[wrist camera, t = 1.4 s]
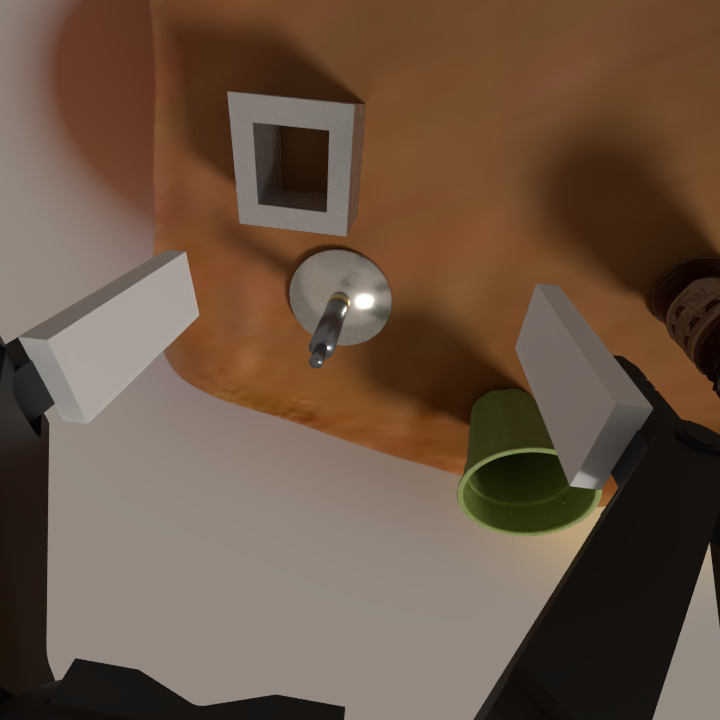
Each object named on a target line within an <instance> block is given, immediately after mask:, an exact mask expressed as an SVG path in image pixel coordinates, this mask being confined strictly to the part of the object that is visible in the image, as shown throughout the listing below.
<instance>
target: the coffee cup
mask: <svg viewBox="0 0 720 720" xmlns="http://www.w3.org/2000/svg"><path fill="white" fill-rule="evenodd" d="M651 308H652V311H653V313H654V314H655V316H656V318H657V319H658V320H659V321H661V322H663V323H665V325H666V327H667V330H668V332H669V335H670V337H671V338H672V339H673V340H674V341H675V342H676V343H677V344H678V345H679V346H680V347H681V348H682V349H683V350H684V352H685V354H686V355H687V356H688V357H689V359H690V360H691V361H692V362H693V363H694V364H695V365H696V368H697V369H698V370H699V372H700V373H701V374H703V375H706V376H707V378H708V380H710V381H712V382H713V383H714V385H713V389H712V390H713V391H715V392H716V393H717V395H718V396H719V398H720V259H719V258H713V257H699V258H692V259H690V260H688V261H685V262H683V263H681V264H679V265H678V266H676V267H674V268H672V269H671V270H670V271H668V272H667V273H666V274H665V275H664V276H663V277H662V278H661V279H660V281H659V282H658V284H657V285H656V287H655V289H654V290H653V292H652V295H651Z"/></svg>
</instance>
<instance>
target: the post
mask: <svg viewBox="0 0 720 720" xmlns="http://www.w3.org/2000/svg"><path fill="white" fill-rule="evenodd" d="M289 296H290V303H291V307H292V310H293V313H294V315H295V316H296V318H297V320H298V321H299V323H300V324H301V325H302V326H303V327H304V328H305V329H306V330H307V331H308V332H309V333H310V334H312V335H313V337H312V339H311V341H310V344H309V350H310V352H311V353H312V355H311V358H310V360H309V364H310V365H311V366H312V367H313V368H320V367H321V366H322V364H323V361H324V359H327V358H329V357H331V356H332V354H333V353H334V350H335V347H336V345H355V344H359V343H362V342H365V341H367V340H369V339H371V338H373V337H374V336H375V335H377V334H378V333H379V332H380V331H381V330H382V328H383V327H384V326H385V324H386V322H387V320H388V318H389V315H390V312H391V306H392V294H391V289H390V286H389V283H388V280H387V278H386V277H385V275H384V273H383V272H382V271H381V269H380V268H379V267H378V266H377V265H376V264H375V263H374V262H373V261H371V260H370V259H369V258H367V257H365V256H364V255H362V254H359V253H357V252H354V251H351V250H346V249H328V250H323V251H320V252H318V253H315V254H313V255H312V256H310V257H309V258H307V259H306V260H305V261H304V262H303V263H302V264H301V265H300V266H299V268H298V269H297V270H296V272H295V274H294V276H293V278H292V281H291V284H290V293H289Z"/></svg>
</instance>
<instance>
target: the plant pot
mask: <svg viewBox="0 0 720 720" xmlns="http://www.w3.org/2000/svg"><path fill="white" fill-rule="evenodd" d="M601 494H602V490H596V489H588V488H580V487H573V486H570V485H569V483H568V480H567V478H566V475H565V473H564V470H563V468H562V465H561V463H560V460H559V458H558V455H557V453H556V450H555V448H554V445H553V443H552V440H551V438H550V435H549V432H548V430H547V427H546V425H545V422H544V420H543V417H542V415H541V412H540V410H539V407H538V405H537V402H536V400H535V399H534V398H533V397H532V396H531V395H530V394H528V393H526V392H524V391H522V390H519V389H513V388H511V389H505V390H493V391H490V392H488V393H486V394H484V395H483V396H482V397H480V398H479V399H478V400H477V401H476V402H475V404H474V406H473V408H472V411H471V418H470V431H469V443H468V455H467V462H466V464H465V468H464V475H463V476H462V478H461V480H460V482H459V484H458V489H457V499H458V503H459V506H460V507H461V509H462V511H463V512H464V513H465V515H466V516H467V517H469V519H470V520H472V521H473V522H475V523H476V524H478V525H479V526H482V527H483V528H485V529H488V530H490V531H494V532H498V533H501V534H506V535H514V536H537V535H545V534H550V533H555V532H558V531H562V530H565V529H567V528H569V527H571V526H574V525H576V524H577V523H579V522H581V521H583V520H584V519H585V518H587V517H588V516H589V515H590V514H591V513H592V512H593V511H594V510H595V508H596V507H597V505H598V503H599V501H600V499H601Z"/></svg>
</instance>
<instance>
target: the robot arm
mask: <svg viewBox="0 0 720 720" xmlns="http://www.w3.org/2000/svg"><path fill="white" fill-rule="evenodd" d="M198 316H199V311H198V307H197V302H196V298H195V293H194V288H193V284H192V279H191V274H190V270H189V265H188V260H187V256H186V252H184V251H173V250H166V251H164V252H162V253H160V254H159V255H157V256H155V257H154V258H152V259H150V260H149V261H147V262H145V263H143V264H142V265H140V266H138V267H137V268H135V269H133V270H132V271H130V272H128V273H126V274H125V275H123V276H121V277H120V278H118V279H116V280H114V281H113V282H111V283H109V284H107V285H106V286H104V287H103V288H101V289H99V290H97V291H96V292H94V293H92V294H90V295H89V296H87V297H85V298H84V299H82V300H80V301H78V302H77V303H75V304H73V305H72V306H70V307H68V308H66V309H65V310H63V311H61V312H60V313H58V314H56V315H55V316H53V317H51V318H49V319H48V320H46V321H44V322H43V323H41V324H39V325H37V326H36V327H34V328H32V329H31V330H29V331H27V332H26V333H24V334H22V335H20V336H19V337H18V338H16V339H14V340H12V341H11V342H9V343H7V344H6V345H5V344H4V342H3V340H2V338H1V337H0V720H344V714H345V707H342V706H337V705H331V704H326V703H320V702H315V701H309V700H303V699H298V698H292V697H286V696H281V695H270V696H264V697H258V698H251V699H245V700H239V701H232V702H226V703H220V704H213V705H208V706H197V705H194V704H192V703H190V702H188V701H187V700H185V699H184V698H182V697H181V696H179V695H177V694H176V693H174V692H173V691H171V690H170V689H168V688H167V687H165V686H163V685H162V684H160V683H159V682H157V681H155V680H154V679H152V678H151V677H149V676H148V675H146V674H144V673H143V672H141V671H140V670H137V669H132V668H126V667H121V666H115V665H109V664H104V663H98V662H93V661H87V660H82V659H76V658H75V660H74V661H73V663H72V665H71V666H70V668H69V669H68V671H67V673H66V674H65V676H64V678H63V679H62V680H58V681H55V679H54V676H53V673H52V671H51V668H50V666H49V663H48V658H47V650H46V631H47V630H46V629H47V628H46V626H47V552H48V549H47V548H48V546H47V545H48V473H49V470H48V469H49V466H48V465H49V422H48V420H47V418H46V416H45V414H44V412H45V411H47V410H48V409H49V408H50V407H51V406H52V405H55V407H56V409H57V411H58V412H59V414H60V416H61V418H62V420H64V421H71V422H78V423H86V424H88V423H89V422H91V420H93V419H94V418H95V416H97V415H98V413H100V412H101V411H102V410H103V409H104V408H105V407H106V406H107V405H108V404H109V403H110V402H111V401H112V400H113V399H114V398H115V397H116V396H117V395H118V394H119V393H120V392H121V391H122V390H123V389H124V388H125V387H126V386H127V385H129V384H130V383H131V382H132V381H133V380H134V379H135V378H136V377H137V376H138V375H139V374H140V373H141V372H142V371H143V370H144V369H145V368H146V367H147V366H148V365H149V364H150V363H151V362H152V361H153V360H154V359H155V358H156V357H157V356H158V355H159V354H160V353H161V352H162V351H163V350H164V349H165V348H167V347H168V346H169V345H170V344H171V343H172V342H173V341H174V340H175V339H176V338H177V337H178V336H179V335H180V334H181V333H182V332H183V331H184V330H185V329H186V328H187V327H188V326H189V325H190V324H191V323H192V322H193V321H194V320H195V319H196V318H197V317H198ZM515 350H516V352H517V355H518V357H519V360H520V362H521V365H522V367H523V370H524V372H525V375H526V377H527V380H528V382H529V385H530V387H531V390H532V392H533V395H534V397H535V400H536V402H537V405H538V407H539V410H540V412H541V415H542V417H543V420H544V422H545V425H546V427H547V430H548V432H549V435H550V438H551V440H552V443H553V445H554V448H555V450H556V453H557V455H558V458H559V460H560V463H561V465H562V468H563V470H564V473H565V475H566V478H567V480H568V483H569V485H570V486H573V487H580V488H588V489H596V490H602V488H603V486H604V485H605V483H606V482H607V480H608V479H609V477H610V476H611V474H612V476H613V478H614V480H615V482H616V484H617V485H618V487H619V488H618V490H617V491H616V493H615V494H614V496H613V497H612V499H611V500H610V501H609V503H608V504H607V506H606V507H605V509H604V510H603V512H602V513H601V516H600V518H599V520H598V521H597V523H596V524H595V526H594V527H593V529H592V531H591V533H590V534H589V536H588V537H587V539H586V540H585V542H584V544H583V545H582V547H581V548H580V550H579V552H578V553H577V555H576V556H575V558H574V560H573V561H572V563H571V564H570V566H569V568H568V569H567V571H566V572H565V574H564V576H563V577H562V579H561V580H560V582H559V584H558V585H557V587H556V588H555V590H554V592H553V593H552V595H551V596H550V598H549V600H548V601H547V603H546V605H545V606H544V608H543V609H542V611H541V612H540V614H539V616H538V617H537V619H536V620H535V622H534V624H533V625H532V627H531V629H530V630H529V632H528V633H527V635H526V637H525V638H524V640H523V641H522V643H521V644H520V646H519V648H518V649H517V651H516V652H515V654H514V656H513V657H512V659H511V660H510V662H509V664H508V665H507V667H506V668H505V670H504V672H503V673H502V675H501V677H500V678H499V680H498V681H497V683H496V684H495V686H494V688H493V689H492V691H491V693H490V694H489V696H488V697H487V699H486V700H485V702H484V704H483V705H482V707H481V709H480V710H479V712H478V713H477V715H476V717H475V718H474V720H652V719H653V716H654V713H655V710H656V706H657V703H658V700H659V697H660V694H661V691H662V688H663V685H664V681H665V679H666V675H667V672H668V669H669V666H670V663H671V660H672V657H673V654H674V650H675V648H676V644H677V641H678V638H679V635H680V632H681V629H682V626H683V623H684V620H685V617H686V613H687V610H688V607H689V604H690V601H691V597H692V595H693V592H694V588H695V585H696V582H697V579H698V576H699V573H700V570H701V567H702V564H703V561H704V557H705V554H706V551H707V548H708V545H709V542H710V547H711V557H712V565H713V573H714V582H715V590H716V599H717V608H718V616H719V624H720V435H719V434H718V433H716V432H714V431H712V430H710V429H708V428H707V427H705V426H702V425H699V424H697V423H694V422H691V421H686V420H681V418H680V417H679V416H678V415H677V414H676V412H675V411H674V410H673V409H672V408H671V406H670V405H669V404H668V403H667V402H666V400H665V399H664V398H663V397H662V396H661V394H660V393H659V392H658V391H655V387H654V386H653V385H652V384H651V382H650V381H647V378H646V376H645V375H644V374H643V373H642V372H641V371H640V369H639V368H638V367H637V366H635V365H634V364H632V363H631V362H629V361H628V360H627V359H625V358H624V357H622V356H614V355H612V354H611V353H610V352H609V350H608V349H607V348H606V346H605V345H604V344H603V342H602V341H601V340H600V339H599V337H598V336H597V335H596V333H595V332H594V331H593V330H592V328H591V327H590V326H589V324H588V323H587V322H586V321H585V319H584V318H583V317H582V315H581V314H580V313H579V311H578V310H577V309H576V308H575V306H574V305H573V304H572V302H571V301H570V300H569V299H568V297H567V296H566V295H565V293H564V292H563V291H562V290H561V288H560V287H559V286H558V285H548V284H537V283H536V286H535V289H534V292H533V295H532V298H531V301H530V304H529V307H528V310H527V313H526V316H525V319H524V322H523V325H522V328H521V331H520V334H519V337H518V341H517V344H516V347H515Z"/></svg>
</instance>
